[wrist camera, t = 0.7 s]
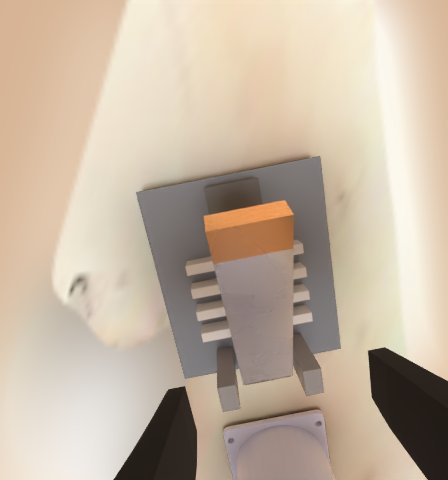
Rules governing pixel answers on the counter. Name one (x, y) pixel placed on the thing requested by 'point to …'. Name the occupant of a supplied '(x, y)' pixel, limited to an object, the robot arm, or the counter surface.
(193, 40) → the counter surface
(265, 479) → the robot arm
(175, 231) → the heatsink base
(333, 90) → the counter surface
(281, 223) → the orange-ended grey bar
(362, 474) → the counter surface
